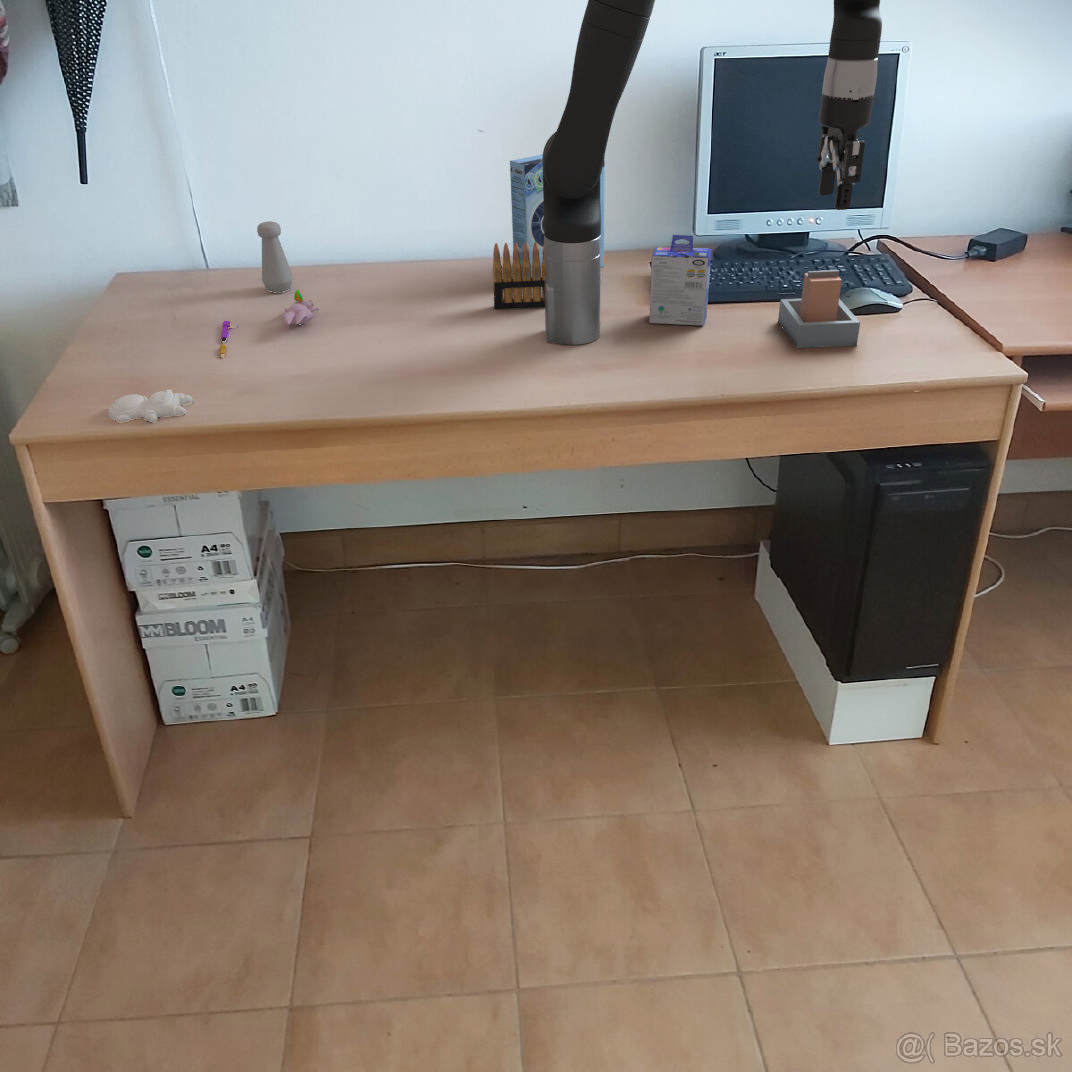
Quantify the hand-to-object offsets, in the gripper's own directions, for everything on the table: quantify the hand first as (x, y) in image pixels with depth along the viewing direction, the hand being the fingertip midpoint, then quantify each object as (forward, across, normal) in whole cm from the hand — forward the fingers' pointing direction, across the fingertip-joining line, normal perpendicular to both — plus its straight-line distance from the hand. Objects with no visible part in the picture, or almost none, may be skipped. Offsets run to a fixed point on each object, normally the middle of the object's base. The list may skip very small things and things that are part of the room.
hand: (833, 201), depth 158 cm
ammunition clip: (+22, -19, -49) cm, 57 cm away
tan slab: (+21, 0, 0) cm, 21 cm away
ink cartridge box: (+22, -9, -22) cm, 32 cm away
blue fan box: (+22, -36, -41) cm, 59 cm away
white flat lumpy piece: (+23, +18, -107) cm, 111 cm away
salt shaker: (+22, -34, -96) cm, 104 cm away
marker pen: (+23, -9, -101) cm, 104 cm away
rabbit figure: (+23, -16, -89) cm, 93 cm away
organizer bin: (+22, 0, 0) cm, 22 cm away
